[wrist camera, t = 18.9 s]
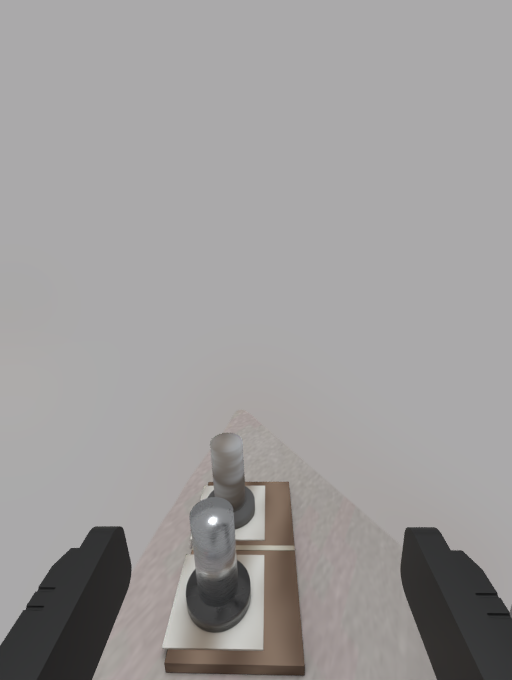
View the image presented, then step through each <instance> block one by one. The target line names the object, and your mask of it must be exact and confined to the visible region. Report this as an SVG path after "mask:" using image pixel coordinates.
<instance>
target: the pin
mask: <svg viewBox="0 0 512 680" xmlns="http://www.w3.org/2000/svg"><path fill="white" fill-rule="evenodd" d="M190 526H191V535H192V543H193V551H194V560H195V568H196V569H195V570H194V571H193V572H192V574H191V576H190V577H189V580H188V582H187V586H186V601H187V608H188V613H189V616H190V618H191V620H192V621H193V623H194V624H195V625H196V626H197V627H199V628H200V629H202V630H204V631H206V632H211V633H219V632H224V631H227V630H229V629H231V628H233V627H234V626H236V625H237V624H238V623H239V622H240V621H241V620H242V619H243V617H244V616H245V614H246V613H247V611H248V608H249V605H250V601H251V585H250V577H249V574H248V571H247V569H246V568H245V566H244V565H243V564H242V563H241V562H239V561H238V560H237V555H236V541H235V526H234V511H233V507H232V505H231V503H230V502H229V501H227V500H226V499H223V498H220V497H210V498H206V499H204V500H201V501H200V502H198V503H197V504H196V505H195V506H194V507H193V508H192V510H191V512H190Z"/></svg>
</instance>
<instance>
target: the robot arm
mask: <svg viewBox="0 0 512 680" xmlns="http://www.w3.org/2000/svg"><path fill="white" fill-rule="evenodd" d="M130 578H131V561H130V557H129V552H128V547H127V543H126V538H125V534H124V530H123V528H122V527H94V528H92V529H91V530H90V532H89V533H88V535H87V537H86V538H85V540H84V542H83V543H82V545H81V546H80V548H71V549H70V550H69V551H68V552H67V553H66V554H65V555H63V556H62V557H61V558H60V559H59V560H58V561H57V562H56V563H55V564H54V565H53V566H52V567H51V569H50V570H49V572H48V574H47V575H46V577H45V578H44V580H43V581H42V583H41V584H40V586H39V589H38V591H37V592H35V593H34V595H33V596H32V598H31V600H30V601H29V603H28V604H27V608H26V610H23V612H22V613H21V615H20V616H19V618H18V620H17V621H16V623H15V624H14V626H13V627H12V629H11V630H10V632H9V633H8V635H7V636H6V638H5V640H4V641H3V642H2V644H1V645H0V680H92V678H93V676H94V673H95V671H96V668H97V666H98V663H99V661H100V658H101V656H102V653H103V650H104V648H105V645H106V643H107V640H108V638H109V635H110V633H111V630H112V628H113V625H114V623H115V620H116V618H117V615H118V613H119V610H120V608H121V605H122V603H123V600H124V598H125V595H126V593H127V590H128V587H129V583H130ZM401 579H402V585H403V589H404V592H405V595H406V598H407V601H408V603H409V606H410V609H411V611H412V614H413V617H414V619H415V622H416V624H417V627H418V630H419V632H420V635H421V638H422V640H423V643H424V646H425V648H426V651H427V654H428V656H429V659H430V662H431V664H432V667H433V670H434V672H435V675H436V678H437V680H512V606H511V610H510V613H509V611H508V609H507V608H506V606H505V605H504V603H503V601H502V600H501V598H499V597H498V595H497V592H496V590H495V589H494V587H493V586H492V584H491V583H490V581H489V579H488V578H487V576H486V575H485V573H484V571H483V570H482V569H481V568H480V567H479V566H478V565H477V564H476V563H475V562H474V561H473V560H472V559H471V558H469V557H468V556H467V555H466V554H465V553H464V552H463V551H451V550H450V548H449V547H448V545H447V543H446V541H445V540H444V538H443V536H442V534H441V533H440V532H439V530H438V529H437V528H434V527H433V528H432V527H431V528H427V527H424V528H423V527H421V528H420V527H418V528H417V527H416V528H415V527H414V528H409V527H408V528H406V530H405V535H404V543H403V551H402V559H401Z"/></svg>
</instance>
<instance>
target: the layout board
mask: <svg viewBox="0 0 512 680" xmlns="http://www.w3.org/2000/svg"><path fill="white" fill-rule="evenodd" d="M210 448H211V460H212V471H213V482H209V483H208V486H204V488H203V491H202V495H201V499H200V501H201V500H204V499H206V498H210V497H220V498H223V499H226V500H227V501H229V502H230V503H231V505H232V507H233V511H234V526H235V541H236V555H237V560H238V561H239V562H241V563H242V564H243V565H244V566H245V568H246V569H247V571H248V574H249V577H250V585H251V601H250V605H249V608H248V611H247V613H246V614H245V616H244V617H243V619H242V620H241V621H240V622H239V623H238V624H237V625H236V626H234V627H233V628H231V629H229V630H227V631H224V632H219V633H211V632H206V631H204V630H202V629H200V628H199V627H197V626H196V625H195V624H194V623H193V621H192V620H191V618H190V616H189V613H188V608H187V601H186V586H187V582H188V580H189V577H190V576H191V574H192V572H193V571H194V570H195V569H196V568H195V560H194V551H193V547H192V552H191V555H186V557H185V561H184V565H183V569H182V572H181V576H180V580H179V584H178V588H177V592H176V596H175V599H174V603H173V607H172V611H171V615H170V619H169V623H168V626H167V630H166V634H165V638H164V642H163V646H162V649H168V651H167V655H166V659H165V663H164V664H165V669H166V672H174V673H220V674H266V675H304V671H305V665H304V654H303V642H302V630H301V619H300V607H299V595H298V584H297V572H296V560H295V548H294V537H293V525H292V514H291V502H290V490H289V482H245V479H244V460H243V442H242V438H241V437H240V436H239V435H237V434H234V433H222V434H219V435H217V436H215V437H214V438H213V439H212V440H211V442H210ZM190 541H192V535H191V538H190Z"/></svg>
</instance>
